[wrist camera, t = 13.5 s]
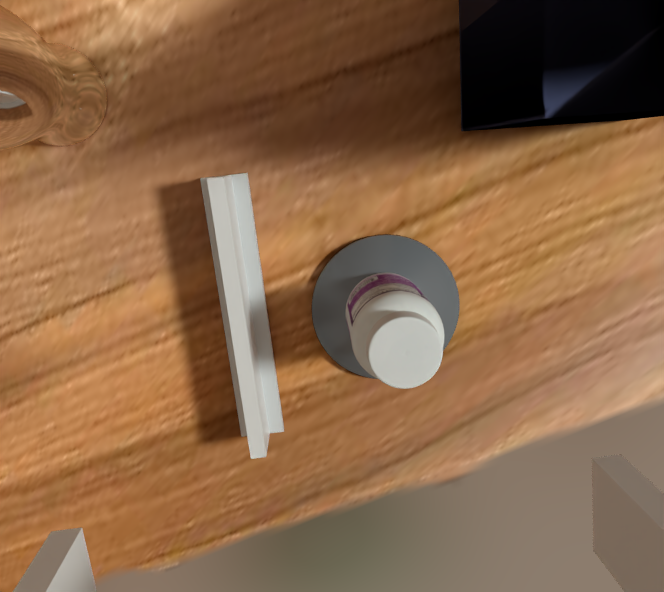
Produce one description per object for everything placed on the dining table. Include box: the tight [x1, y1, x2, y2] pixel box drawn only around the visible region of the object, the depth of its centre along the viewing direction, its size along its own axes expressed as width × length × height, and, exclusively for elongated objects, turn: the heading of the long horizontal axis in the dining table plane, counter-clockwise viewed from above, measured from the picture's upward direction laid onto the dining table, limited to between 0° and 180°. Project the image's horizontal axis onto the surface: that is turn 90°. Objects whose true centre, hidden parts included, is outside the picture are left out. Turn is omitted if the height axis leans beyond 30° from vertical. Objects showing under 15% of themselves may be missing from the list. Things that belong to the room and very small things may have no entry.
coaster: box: [312, 234, 459, 379], centre depth 42 cm, size 10×10×1 cm
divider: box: [200, 173, 284, 459], centre depth 40 cm, size 3×18×4 cm, turn 7°
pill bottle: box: [346, 273, 444, 389], centre depth 37 cm, size 5×5×10 cm
